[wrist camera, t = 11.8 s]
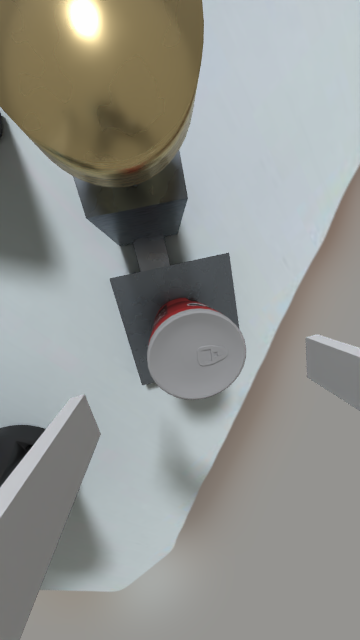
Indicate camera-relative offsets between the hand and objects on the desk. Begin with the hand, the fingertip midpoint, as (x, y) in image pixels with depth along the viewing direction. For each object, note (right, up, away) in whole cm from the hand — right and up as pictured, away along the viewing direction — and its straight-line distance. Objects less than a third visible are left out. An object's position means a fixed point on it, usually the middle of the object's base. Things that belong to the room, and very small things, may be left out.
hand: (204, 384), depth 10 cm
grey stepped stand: (-2, +9, +14) cm, 17 cm away
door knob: (-6, +17, +6) cm, 19 cm away
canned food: (-1, +3, +14) cm, 15 cm away
